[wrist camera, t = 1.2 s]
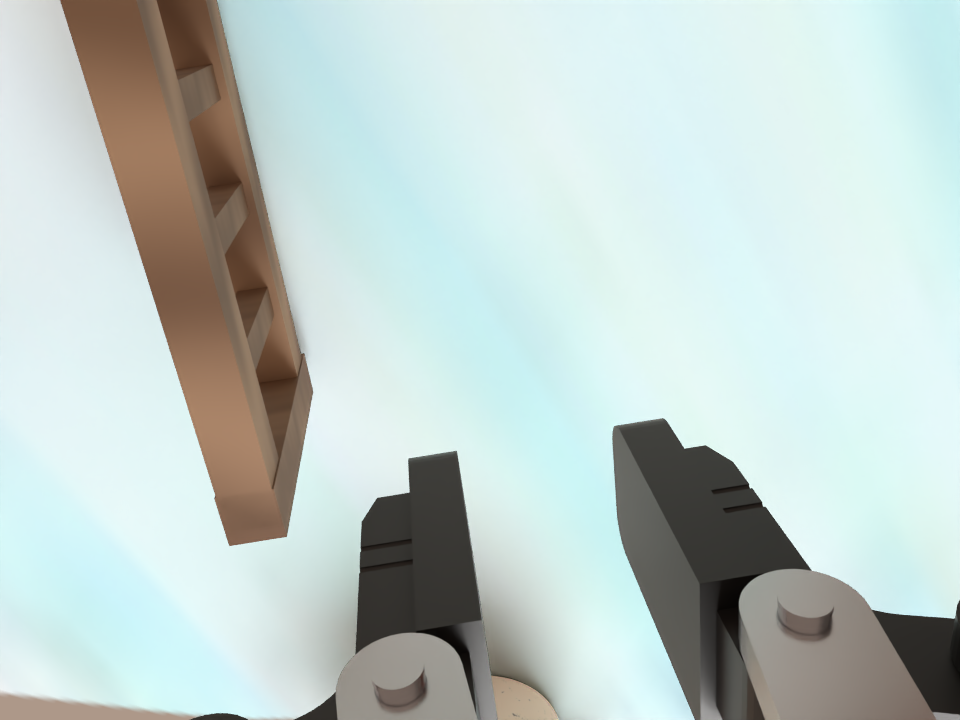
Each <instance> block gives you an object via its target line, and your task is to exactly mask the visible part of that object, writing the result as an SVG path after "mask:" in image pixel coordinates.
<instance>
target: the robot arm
mask: <svg viewBox="0 0 960 720" xmlns="http://www.w3.org/2000/svg"><path fill="white" fill-rule="evenodd" d="M613 457H614V473H615V490H616V506H617V518H618V525H619V531H620V535H621V540H622V544H623V547H624V550H625V553H626V556H627V558H628V561H629V563H630V565H631V568H632V570H633V573H634V575H635V577H636V580H637V582H638V585H639V587H640V589H641V592H642V594H643V597H644V599H645V601H646V604H647V606H648V608H649V611H650V613H651V616H652V618H653V620H654V623H655V625H656V628H657V630H658V632H659V635H660V637H661V640H662V642H663V644H664V647H665V649H666V652H667V654H668V656H669V659H670V661H671V663H672V666H673V668H674V671H675V673H676V675H677V678H678V680H679V683H680V685H681V687H682V690H683V692H684V695H685V697H686V699H687V702H688V704H689V707H690V709H691V711H692V714H693V716H694V718H695V720H960V601H959V603H958V605H957V610H956V616H955V619H951V618H938V617H924V616H911V615H899V614H891V613H884V612H880V611H875V610H872V609H871V608H870V606H869V605H868V603H867V602H866V601H865V599H864V598H863V597H862V596H861V595H860V594H859V593H858V592H857V591H856V590H854V589H853V588H852V587H850V586H849V585H847V584H846V583H844V582H842V581H840V580H838V579H836V578H834V577H831V576H829V575H826V574H823V573H819V572H815V571H812V570H811V569H810V568H809V566H808V565H807V564H806V562H805V561H804V559H803V558H802V557H801V555H800V554H799V552H798V551H797V550H796V548H795V547H794V546H793V544H792V543H791V541H790V540H789V539H788V537H787V536H786V534H785V533H784V532H783V530H782V529H781V528H780V526H779V525H778V523H777V522H776V521H775V519H774V518H773V517H772V515H771V514H770V512H769V511H768V510H767V508H766V507H763V505H762V501H761V500H760V499H759V497H758V496H757V494H756V493H755V492H754V490H753V489H752V488H751V489H750V487H749V483H748V482H747V481H746V479H745V478H744V476H743V475H742V474H741V472H740V471H739V469H738V468H737V467H736V465H735V464H734V463H733V462H732V461H731V460H729V459H727V458H726V457H724V456H722V455H721V454H719V453H717V452H716V451H714V450H712V449H711V448H709V447H707V446H706V445H705V446H699V447H693V448H687V449H684V447H683V446H682V444H681V443H680V441H679V440H678V438H677V436H676V435H675V433H674V432H673V430H672V429H671V427H670V425H669V424H668V422H667V421H666V420H665V419H663V418H662V419H656V420H649V421H643V422H637V423H630V424H624V425H618V426H614V428H613ZM408 465H409V487H410V493H405V494H399V495H393V496H387V497H380V498H377V499H376V501H375V502H374V504H373V505H372V507H371V508H370V510H369V512H368V513H367V515H366V516H365V518H364V519H363V521H362V529H361V552H360V573H359V593H358V614H357V635H356V653H355V655H354V656H353V658H352V659H351V660H350V661H349V662H348V663H347V664H346V666H345V667H344V669H343V670H342V672H341V674H340V677H339V679H338V682H337V686H336V692H335V693H334V694H333V695H332V696H331V697H330V698H329V699H328V700H326V701H325V702H324V703H323V704H321V705H320V706H318V707H317V708H315V709H314V710H312V711H311V712H309V713H307V714H305V715H303V716H301V717H299V718H297V719H294V720H498V717H497V711H496V704H495V697H494V691H493V684H492V677H491V671H490V664H489V657H488V651H487V644H486V637H485V631H484V624H483V617H482V611H481V604H480V597H479V591H478V584H477V578H476V571H475V564H474V558H473V551H472V545H471V538H470V532H469V526H468V519H467V513H466V506H465V500H464V494H463V487H462V481H461V474H460V468H459V462H458V455H457V451H453V452H447V453H440V454H434V455H428V456H422V457H415V458H409V460H408ZM191 720H248V719H246V718H244V717H241V716H238V715H234V714H228V713H216V714H209V715H204V716H200V717H197V718H193V719H191Z"/></svg>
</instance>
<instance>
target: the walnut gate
mask: <svg viewBox="0 0 960 720" xmlns="http://www.w3.org/2000/svg"><path fill="white" fill-rule="evenodd" d="M60 1H61V4H62V7H63V11H64V14H65V17H66V20H67V23H68V27H69V30H70V33H71V36H72V39H73V43H74V46H75V49H76V52H77V55H78V58H79V62H80V65H81V68H82V71H83V74H84V78H85V81H86V84H87V87H88V90H89V94H90V97H91V100H92V103H93V106H94V110H95V113H96V116H97V119H98V122H99V125H100V129H101V132H102V135H103V138H104V141H105V145H106V148H107V151H108V154H109V157H110V161H111V164H112V167H113V170H114V173H115V177H116V180H117V183H118V186H119V189H120V193H121V196H122V199H123V202H124V205H125V208H126V212H127V215H128V218H129V221H130V224H131V228H132V231H133V234H134V237H135V240H136V244H137V247H138V250H139V253H140V256H141V260H142V263H143V266H144V269H145V272H146V275H147V279H148V282H149V285H150V288H151V291H152V295H153V298H154V301H155V304H156V307H157V311H158V314H159V317H160V320H161V323H162V327H163V330H164V333H165V336H166V339H167V342H168V346H169V349H170V352H171V355H172V358H173V362H174V365H175V368H176V371H177V374H178V378H179V381H180V384H181V387H182V390H183V394H184V397H185V400H186V403H187V406H188V410H189V413H190V416H191V419H192V422H193V425H194V429H195V432H196V435H197V438H198V441H199V445H200V448H201V451H202V454H203V457H204V461H205V464H206V467H207V470H208V473H209V477H210V480H211V483H212V486H213V489H214V492H215V502H216V505H217V508H218V511H219V515H220V518H221V521H222V524H223V527H224V530H225V534H226V537H227V540H228V543H229V546H232V545H238V544H245V543H251V542H257V541H263V540H269V539H276V538H282V537H287V532H288V527H289V521H290V516H291V510H292V505H293V499H294V494H295V488H296V483H297V477H298V472H299V466H300V461H301V455H302V450H303V444H304V439H305V433H306V428H307V422H308V417H309V411H310V406H311V400H312V395H313V389H312V385H311V380H310V376H309V372H308V368H307V363H306V359H305V355H304V353H303V354H301V353H300V349H299V344H298V340H297V336H296V332H295V328H294V323H293V319H292V315H291V311H290V307H289V302H288V298H287V294H286V290H285V286H284V281H283V277H282V273H281V269H280V265H279V260H278V256H277V252H276V248H275V244H274V239H273V235H272V231H271V227H270V223H269V218H268V214H267V210H266V206H265V202H264V197H263V193H262V189H261V185H260V181H259V176H258V172H257V168H256V164H255V160H254V155H253V151H252V147H251V143H250V139H249V134H248V130H247V126H246V122H245V118H244V113H243V109H242V105H241V101H240V97H239V92H238V88H237V84H236V80H235V76H234V71H233V67H232V63H231V59H230V55H229V50H228V46H227V42H226V38H225V33H224V29H223V25H222V21H221V17H220V12H219V8H218V4H217V0H60Z"/></svg>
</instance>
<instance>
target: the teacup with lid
mask: <svg viewBox="0 0 960 720" xmlns="http://www.w3.org/2000/svg"><path fill="white" fill-rule="evenodd" d="M491 677H492V684H493V691H494V697H495V704H496V711H497V717H498V720H559V719H558V717H557V715H556V712H555V710H554V709H553V707H552V706H551V704H550V703H549V702H548V701H547V700H546V699H545V698H544V697H543V696H542V695H541V694H540V693H539V692H537V691H536V690H534V689H533V688H531V687H529V686H527V685H525V684H523V683H521V682H518V681H516V680H512V679H509V678H504V677H498V676H491Z"/></svg>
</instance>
